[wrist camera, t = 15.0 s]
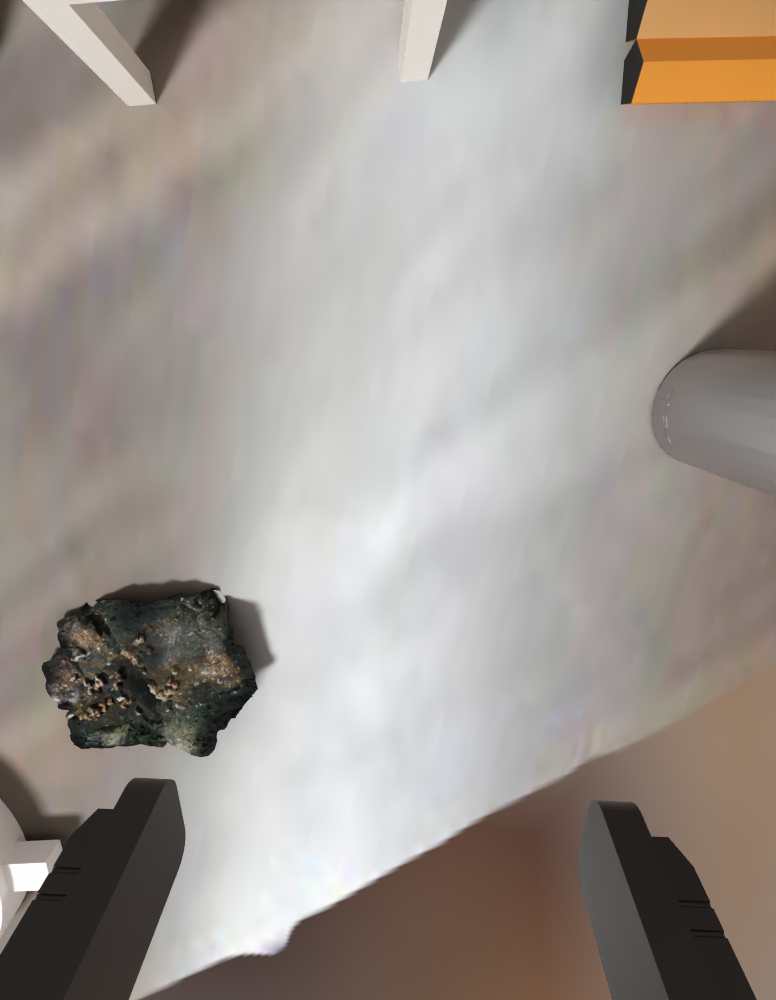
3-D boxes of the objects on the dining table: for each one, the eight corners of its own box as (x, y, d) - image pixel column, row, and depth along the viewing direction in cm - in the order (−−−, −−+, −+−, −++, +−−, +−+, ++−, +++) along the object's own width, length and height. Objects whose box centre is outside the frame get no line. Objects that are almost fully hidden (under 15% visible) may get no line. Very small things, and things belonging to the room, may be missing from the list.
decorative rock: (77, 799, 47) (-33, 671, 42) (110, 743, 53) (16, 625, 47) (272, 736, 44) (180, 592, 39) (284, 685, 50) (206, 553, 45)
